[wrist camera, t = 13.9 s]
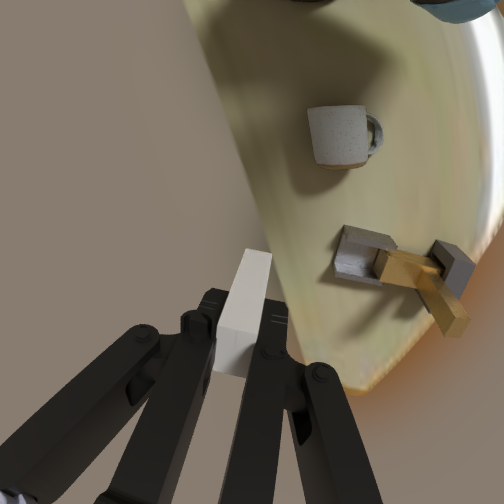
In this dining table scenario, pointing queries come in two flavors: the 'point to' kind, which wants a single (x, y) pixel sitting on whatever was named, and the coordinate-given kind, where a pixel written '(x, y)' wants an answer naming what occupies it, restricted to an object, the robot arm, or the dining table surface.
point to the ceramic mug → (342, 136)
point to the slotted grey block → (452, 267)
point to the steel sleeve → (360, 254)
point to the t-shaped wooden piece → (424, 287)
